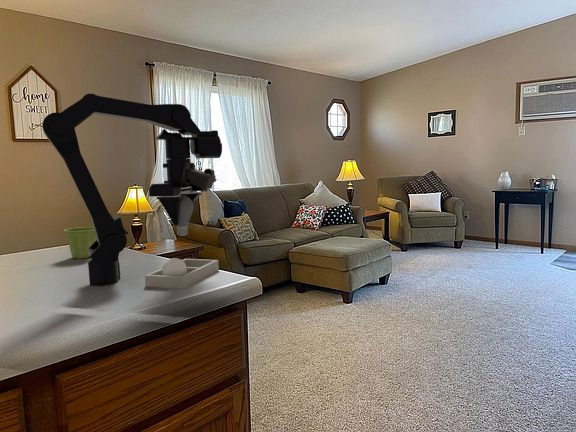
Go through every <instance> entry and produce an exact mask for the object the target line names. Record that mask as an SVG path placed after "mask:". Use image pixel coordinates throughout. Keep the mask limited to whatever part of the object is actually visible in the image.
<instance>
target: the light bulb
mask: <svg viewBox="0 0 576 432" xmlns="http://www.w3.org/2000/svg"><path fill="white" fill-rule="evenodd" d="M180 196H185V195H180ZM194 205H195V204H194ZM194 205H193V202H192V201H191V199H190V198H189V197H187V196H185V197H184V198H183V200H182V201H181V202H180V212H179V224H178V225H175V226H176V234H177V235H178V236H180V237H183V236H185V237H186V235H188V234H189V232H188V231H189V230H188V229H189V224H190V222H189V219H190V216H191V217H192V214H193V212H194V210H195V209H194V207H195V206H194ZM190 220H191V219H190Z"/></svg>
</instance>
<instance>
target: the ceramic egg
mask: <svg viewBox="0 0 576 432" xmlns="http://www.w3.org/2000/svg"><path fill="white" fill-rule="evenodd" d="M182 260H183V259H180V258H177V257H172V258H169V259H167V260H166V261H165V262H164V263H163V266H162V268H161V269H162V274H163V275H164V276H183V275H185V274H186V273H187V267H186V264H185V263H184V262H183V261H182Z"/></svg>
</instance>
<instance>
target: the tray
mask: <svg viewBox="0 0 576 432" xmlns="http://www.w3.org/2000/svg"><path fill="white" fill-rule="evenodd" d="M181 260H182V261H183V262H184V263H185V264H186V267H187V273H186V274H185V275H183V276H164V275H163V274H162V268H160V269H158V270H155V271H152V272H149V273H147V274H145V275H144V280H145V281H144V283H145V287H146V288H148V287H149V288H150V287H151V288H161V289H163V288H164V289H165V288H166V289H177V290H184V289H186V288H187V287H189V286H191V285H193V284H195V283H197V282H199V281H200V280H202V279H204V278H206V277H208V276H210V275H211V274H213V273H216V272H217V271H219V268H220V267H219V259H202V258H201V259H200V258H199V259H197V258H184V259H181Z"/></svg>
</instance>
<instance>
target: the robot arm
mask: <svg viewBox="0 0 576 432" xmlns="http://www.w3.org/2000/svg"><path fill="white" fill-rule="evenodd" d="M92 115H100V116H105V117H113V118H118V119H119V118H120V119H125V120H133V121H138V122H146V123H148V124H151V125H154V126H156V127H159V128H161V131H160V133H159V134H158V135H157V136H156V137H155V140H157V141H164V145H165V147H164V148H165V162H166V163H162V168H163V169H164V168H165V169H166V179H167V180H163V183H162V182H161V183H159V182H158V183H151V185H149V187H148V197H155V198H156V200H159V202H160V204H161V206H162V207H163V208H164V210H165V211H166V213H167V216H168V217H169V219H170V221H171V223H172V224H173V226H176V225H178V224H179V212H180V202H181V201H182V200H183V198H184V197H185V196H187V197H189V198H190V199H191V201H192V202H193V205H195V203H196V200H197V199H198V198H199V197H200V196H202V195H203V192H207V191H208V189H212V187H213V184H214V183H216V182H217V179H216V176H217V175H215V174H216V173H215V170H214V169H212V168H205V169H204V170H198V169H197V168H196V164H195V162H192V161H191V160H192V159H191V154H192V155H194V157H195V159H220V158H221V157H222V154H223V153H222V152H223V143H222V142H221V138H220V135H219V131H218V130H201V129H200V128H199V126H198V125H197V124H196V123H195V122H194V120H193V119H192V117H191V116H192V114H191V112H190V110H189V109H188V107H187V106H185V105H184V104H181V103H162V104H161V103H159V104H147V103H142V102H135V101H130V100H125V99H124V100H123V99H121V98H120V99H119V98H112V97H107V96H102V95H97V94H95V93H87V94H85V95H84V96H82V98H80V99H78V100H77V101H75V102H74V103H73V104H71V105H69V106H68V107H67V108H66V109H64V110H63V111H60V112H56V111H55V112H51V113H49V114H48V115H46V116H45V117H44V119H43V121H42V131H43V134H44V135H45V137H46V139H47V140H48V141H49V142H50V144H51V145H52V147H53V148H54V149H55V150H56V152H57V154H58V155H59V156H60V157H61V158H62V160H63V162H64V163H65V166H66V168H67V171H68V172H69V175H70V177H71V179H72V181H73V182H74V185H75V187H76V188H77V191H78V192H79V195H80V197H81V199H82V201H83V203H84V205H85V207H86V210H87V211H88V213H89V216H90V219H91V223H92V227H93V228H94V231H95V235H96V236H95V242H94V243H93V244H92V245H91V246H90V247H89V248H88V252H89V254H90V256H89V257H90V259H89V261H87V264H88V265H87V268H88V276H89V277H88V279H89V286H92V287H93V286H94V287H104V286H110V285H113V284H116V283H118V282H119V280H121V267H120V262H119V261H120V260H119V259H120V258H119V255H120V253H122V251H123V250H124V249H125V248H126V246H127V244H128V238H127V235H129V232H128V231H126V229H125V228H124V225H123V221H122V217H120V216H119V215H118V214H116V215H114V216H112V214H111V213H110V212H109V210H108V208H107V206H106V205H105V202H104V200H103V198H102V196H101V193H100V191H99V188H98V187H97V185H96V183H95V181H94V179H93V177H92V175H91V173H90V169H89V168H88V165H87V164H86V162H85V159H84V158H83V156H82V152H81V151H80V145H79V144H80V143H79V141H78V140H79V139H78V136H77V133H76V128H77V127H78V126H79V125H80V124H82V123H83V122H85V121H86V120H87V119H89V118H90V117H91V116H92ZM170 131H171V132H170ZM180 195H185V196H180ZM191 217H192V215H191V216H190V219H189V223H190V222H191Z"/></svg>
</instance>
